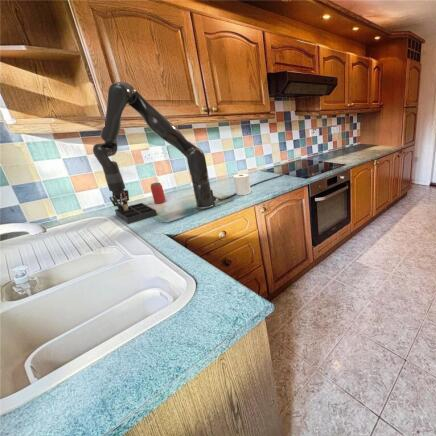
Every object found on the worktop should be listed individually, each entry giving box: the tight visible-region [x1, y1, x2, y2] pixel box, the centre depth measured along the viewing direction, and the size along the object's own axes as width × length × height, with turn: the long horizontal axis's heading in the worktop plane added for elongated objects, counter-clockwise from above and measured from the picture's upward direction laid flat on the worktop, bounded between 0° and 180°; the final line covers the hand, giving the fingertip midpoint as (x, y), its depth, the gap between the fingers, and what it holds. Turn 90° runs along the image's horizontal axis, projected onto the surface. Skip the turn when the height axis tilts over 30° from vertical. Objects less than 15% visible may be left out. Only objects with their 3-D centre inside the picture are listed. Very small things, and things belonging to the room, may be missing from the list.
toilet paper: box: [233, 173, 252, 196], centre depth 171 cm, size 10×10×12 cm
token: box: [122, 203, 129, 211], centre depth 145 cm, size 4×4×4 cm
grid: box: [114, 202, 158, 225], centre depth 144 cm, size 14×21×3 cm
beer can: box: [150, 182, 166, 204], centre depth 162 cm, size 7×7×12 cm
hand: (124, 210), depth 146 cm, fingers closed on token, 4 cm apart
